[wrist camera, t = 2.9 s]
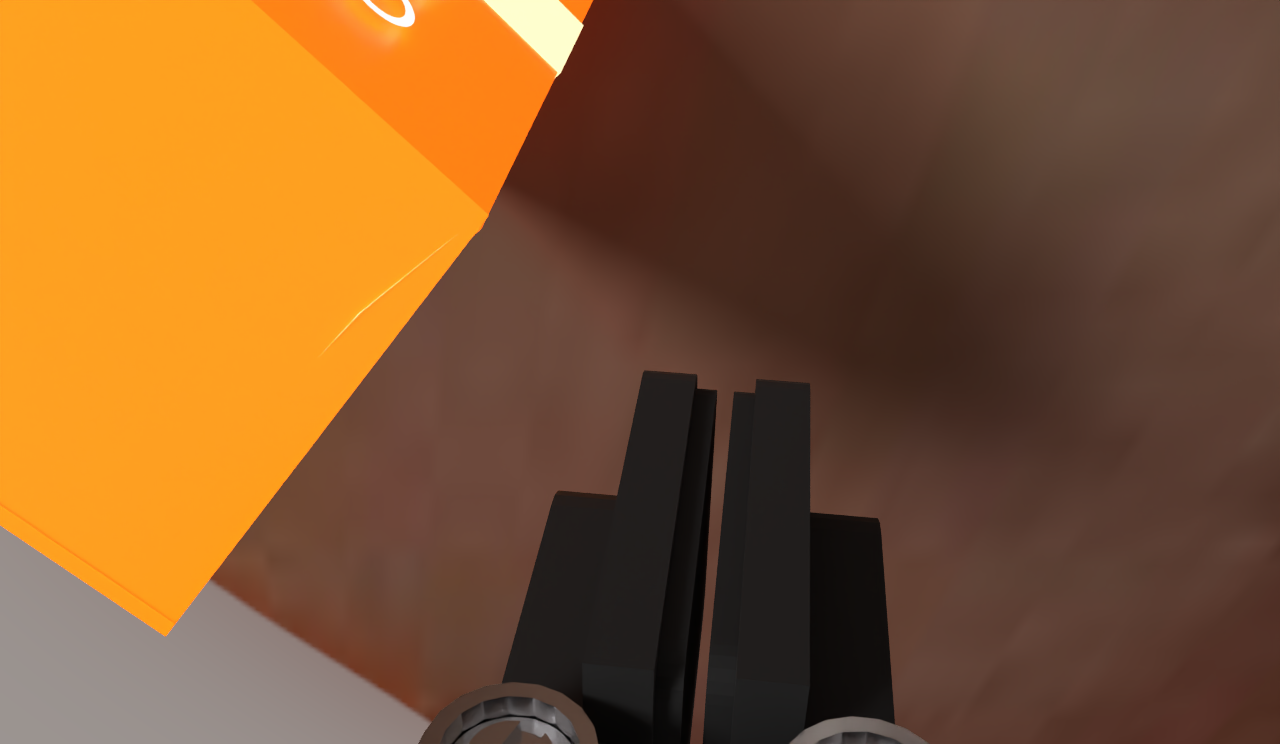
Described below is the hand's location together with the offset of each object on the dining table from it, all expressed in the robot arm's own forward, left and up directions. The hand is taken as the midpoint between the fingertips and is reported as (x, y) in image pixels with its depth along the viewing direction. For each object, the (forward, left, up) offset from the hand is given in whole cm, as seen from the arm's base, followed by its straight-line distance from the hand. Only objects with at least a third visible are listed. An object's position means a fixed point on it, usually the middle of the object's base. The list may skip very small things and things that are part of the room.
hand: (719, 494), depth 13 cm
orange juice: (+9, 0, -20) cm, 22 cm away
